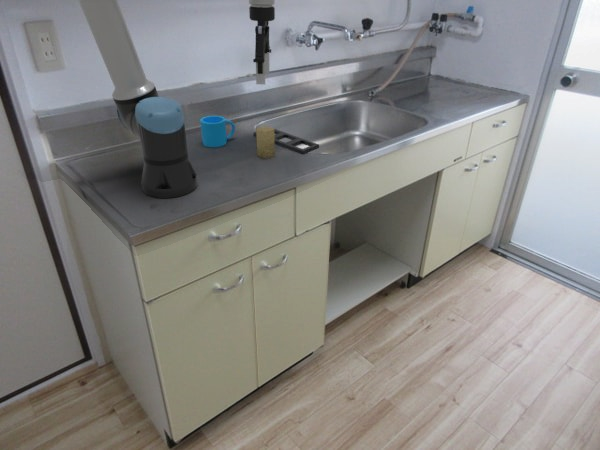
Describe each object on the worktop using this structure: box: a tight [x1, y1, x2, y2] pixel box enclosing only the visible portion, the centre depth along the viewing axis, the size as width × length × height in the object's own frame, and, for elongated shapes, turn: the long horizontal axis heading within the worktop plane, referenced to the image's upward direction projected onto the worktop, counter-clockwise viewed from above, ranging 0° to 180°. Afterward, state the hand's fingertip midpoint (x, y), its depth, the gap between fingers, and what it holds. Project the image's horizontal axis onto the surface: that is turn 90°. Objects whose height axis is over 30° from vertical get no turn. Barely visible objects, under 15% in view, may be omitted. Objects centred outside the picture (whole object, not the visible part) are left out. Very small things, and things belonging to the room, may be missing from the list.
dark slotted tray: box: [253, 128, 320, 155], centre depth 158 cm, size 8×24×1 cm, turn 47°
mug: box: [199, 115, 236, 148], centre depth 155 cm, size 12×8×8 cm
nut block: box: [255, 125, 276, 160], centre depth 146 cm, size 4×4×9 cm
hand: (263, 78), depth 146 cm, fingers open, 13 cm apart
